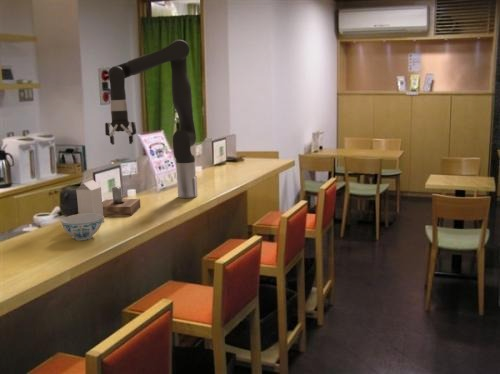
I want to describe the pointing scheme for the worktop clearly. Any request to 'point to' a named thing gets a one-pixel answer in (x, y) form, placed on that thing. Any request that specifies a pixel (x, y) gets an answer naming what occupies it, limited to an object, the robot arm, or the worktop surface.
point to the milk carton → (89, 198)
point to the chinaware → (82, 225)
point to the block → (120, 207)
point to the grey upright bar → (117, 195)
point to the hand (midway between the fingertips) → (121, 144)
